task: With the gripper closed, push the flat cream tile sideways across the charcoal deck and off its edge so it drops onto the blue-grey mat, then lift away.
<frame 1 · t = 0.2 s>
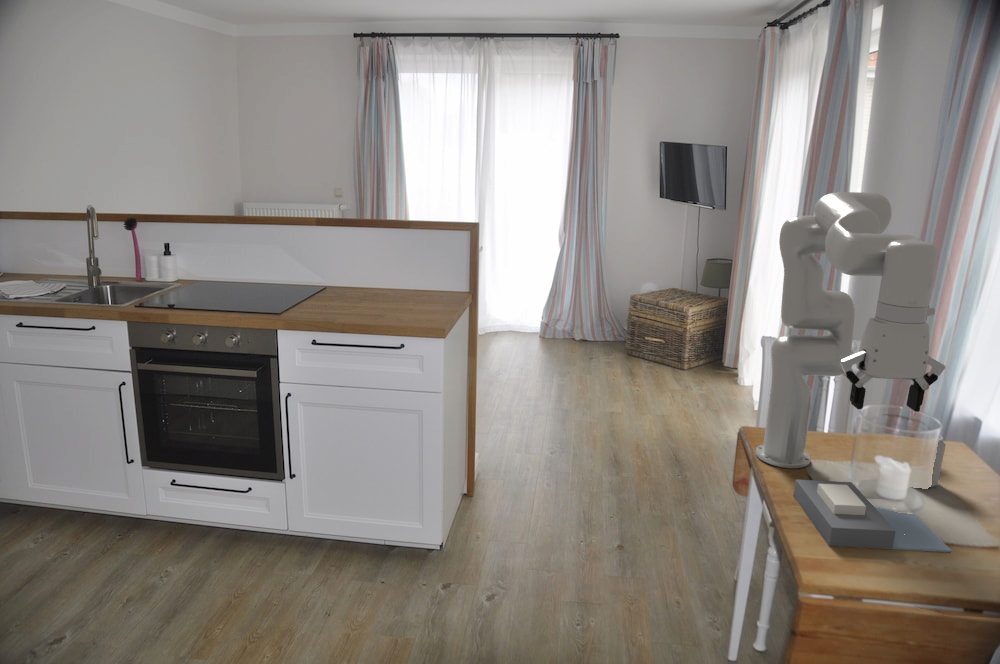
hand: (884, 407, 122), 31 cm above the table, tool pointing down, fingers open, 9 cm apart
can: (918, 482, 162), on the table
deck: (839, 520, 144), on the table
mat: (896, 523, 143), on the table
tile: (839, 503, 143), point 4 cm above the table, touching deck
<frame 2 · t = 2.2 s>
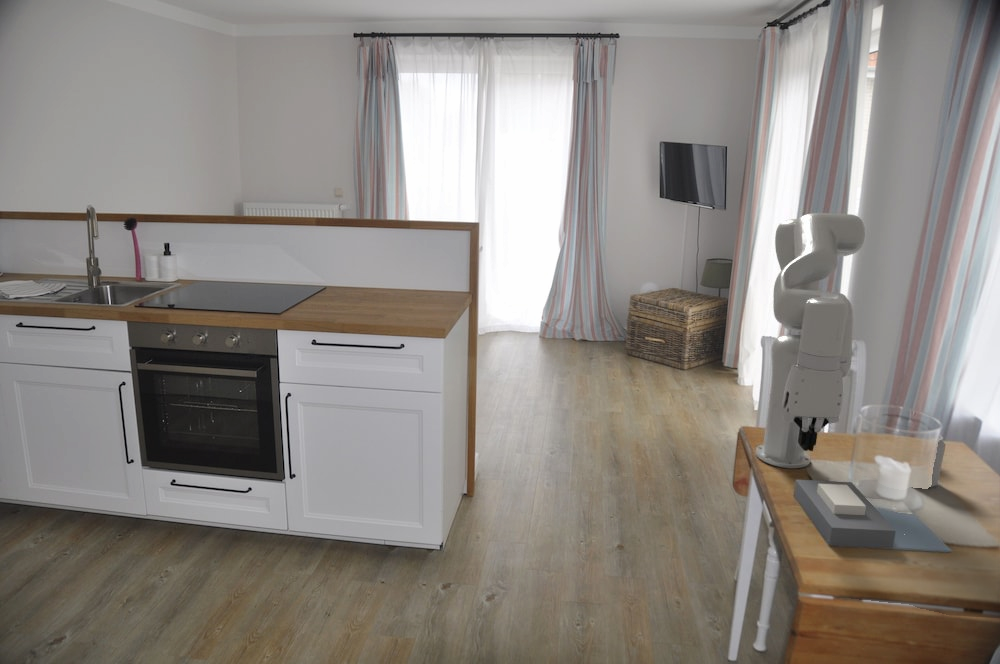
hand: (806, 448, 140), 16 cm above the table, tool pointing down, fingers closed
nothing on the table moved.
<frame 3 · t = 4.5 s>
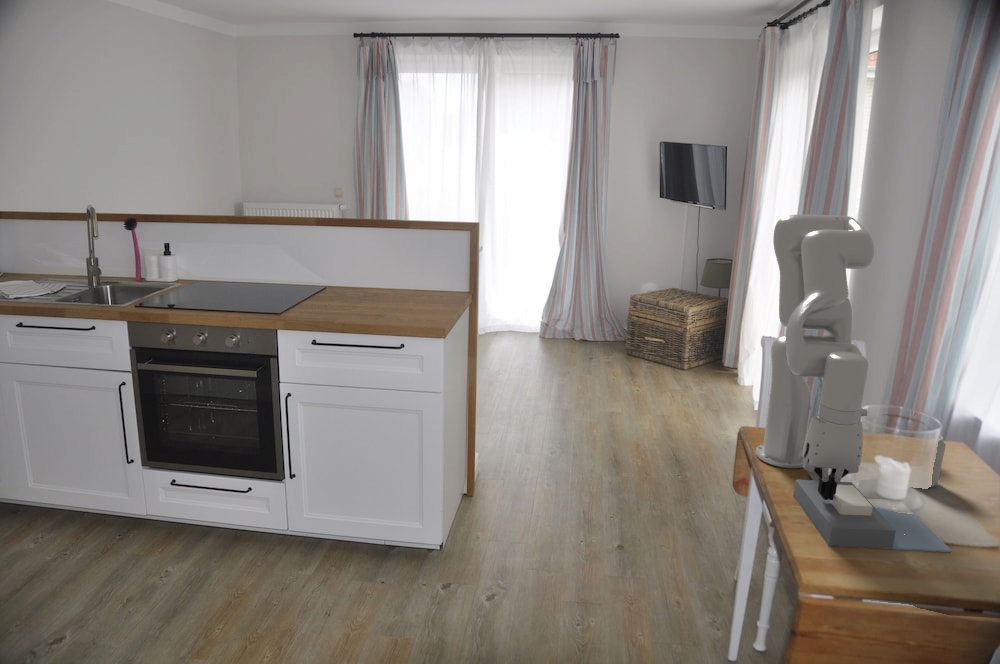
hand: (825, 496, 143), 5 cm above the table, tool pointing down, fingers closed
tile: (846, 503, 143), point 4 cm above the table, touching deck, gripper
everything else where it was.
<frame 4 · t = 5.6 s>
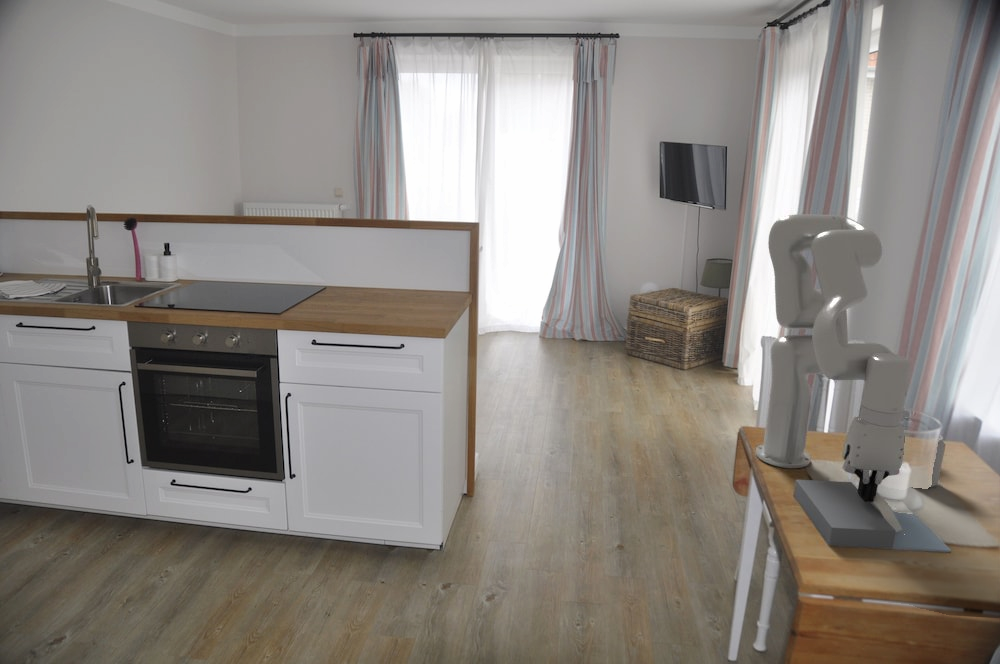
hand: (865, 498, 142), 5 cm above the table, tool pointing down, fingers closed
tile: (876, 510, 143), point 3 cm above the table, tilted 57°, touching gripper, mat
everything else where it was.
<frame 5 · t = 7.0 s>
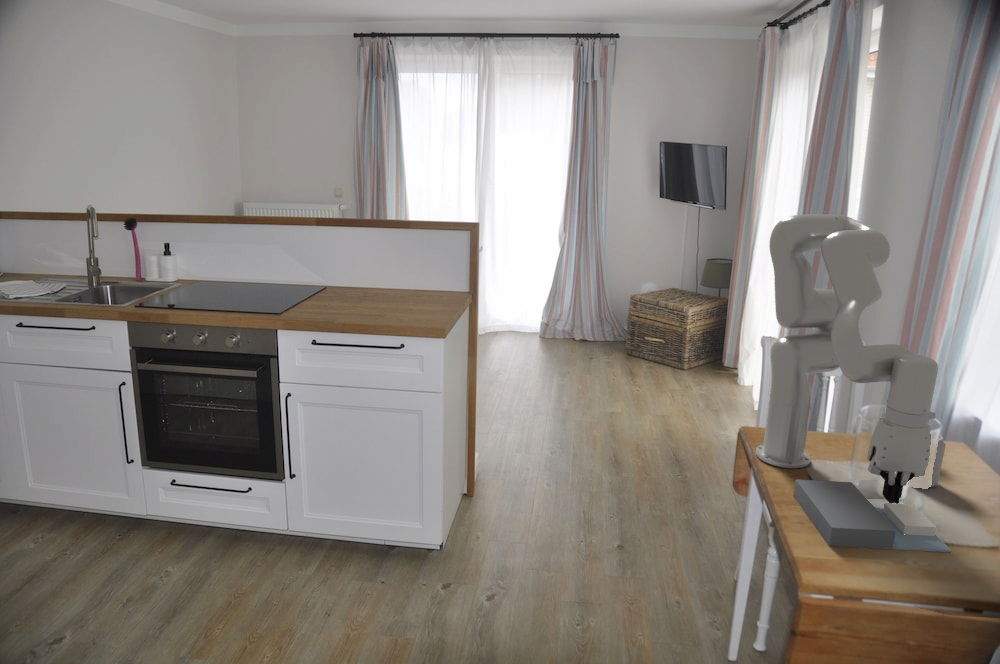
hand: (890, 500, 142), 5 cm above the table, tool pointing down, fingers closed
tile: (909, 514, 142), point 2 cm above the table, tilted 180°, touching mat
everything else where it was.
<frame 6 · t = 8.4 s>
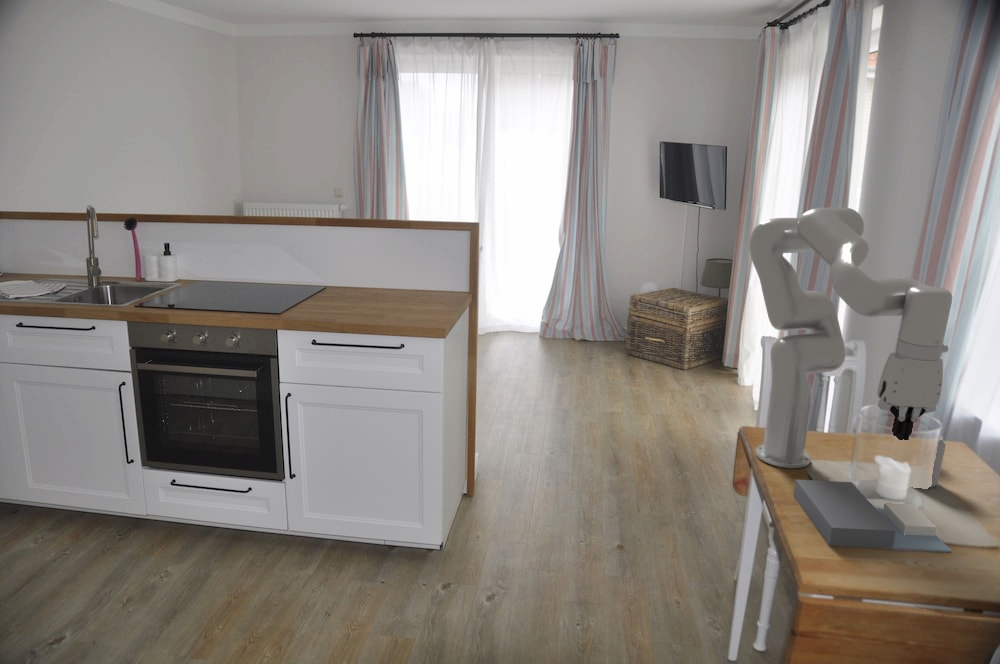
hand: (900, 437, 139), 19 cm above the table, tool pointing down, fingers closed
nothing on the table moved.
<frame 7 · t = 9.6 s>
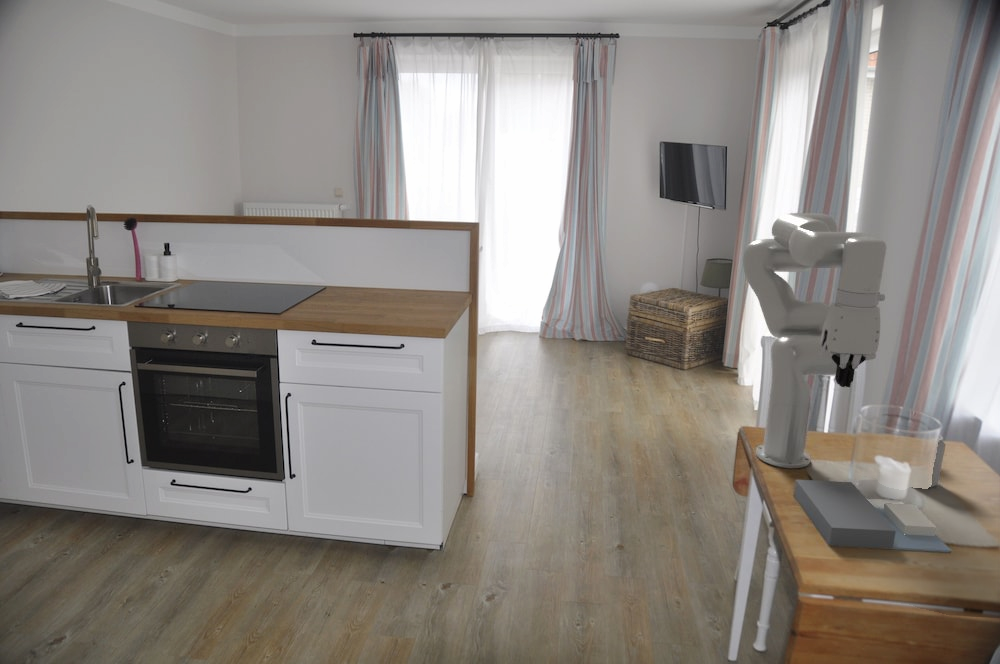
hand: (843, 384, 145), 27 cm above the table, tool pointing down, fingers closed
nothing on the table moved.
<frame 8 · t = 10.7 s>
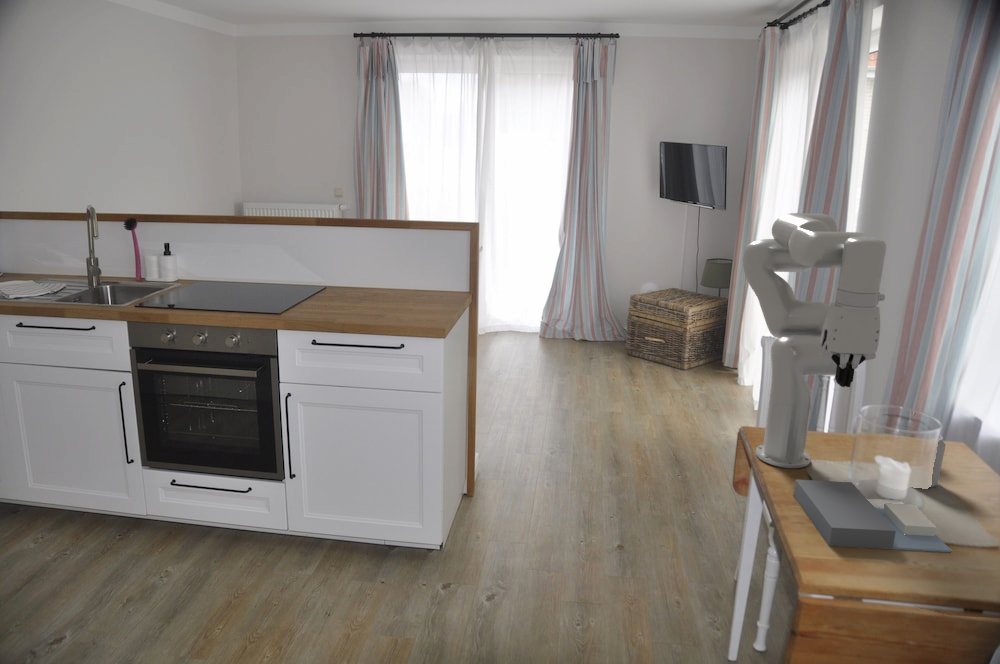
hand: (843, 384, 145), 27 cm above the table, tool pointing down, fingers closed
nothing on the table moved.
at the end: tile point 2.4 cm above the table; tile inside the target area (1.9 cm from its centre), point 2.4 cm above the table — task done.
